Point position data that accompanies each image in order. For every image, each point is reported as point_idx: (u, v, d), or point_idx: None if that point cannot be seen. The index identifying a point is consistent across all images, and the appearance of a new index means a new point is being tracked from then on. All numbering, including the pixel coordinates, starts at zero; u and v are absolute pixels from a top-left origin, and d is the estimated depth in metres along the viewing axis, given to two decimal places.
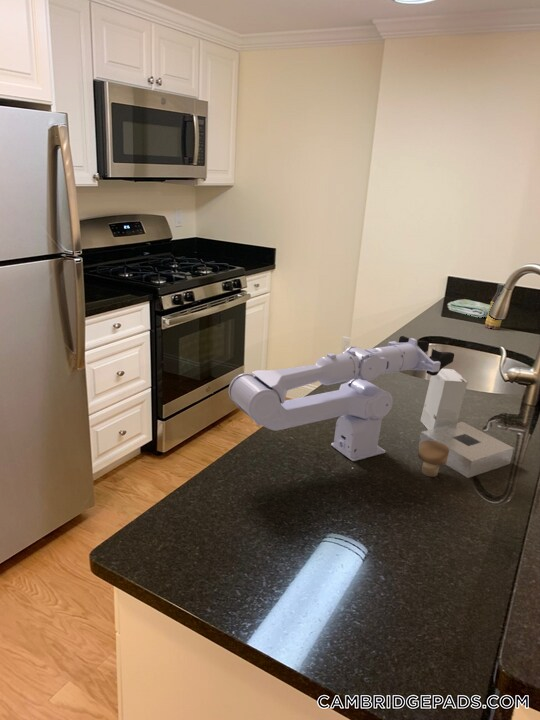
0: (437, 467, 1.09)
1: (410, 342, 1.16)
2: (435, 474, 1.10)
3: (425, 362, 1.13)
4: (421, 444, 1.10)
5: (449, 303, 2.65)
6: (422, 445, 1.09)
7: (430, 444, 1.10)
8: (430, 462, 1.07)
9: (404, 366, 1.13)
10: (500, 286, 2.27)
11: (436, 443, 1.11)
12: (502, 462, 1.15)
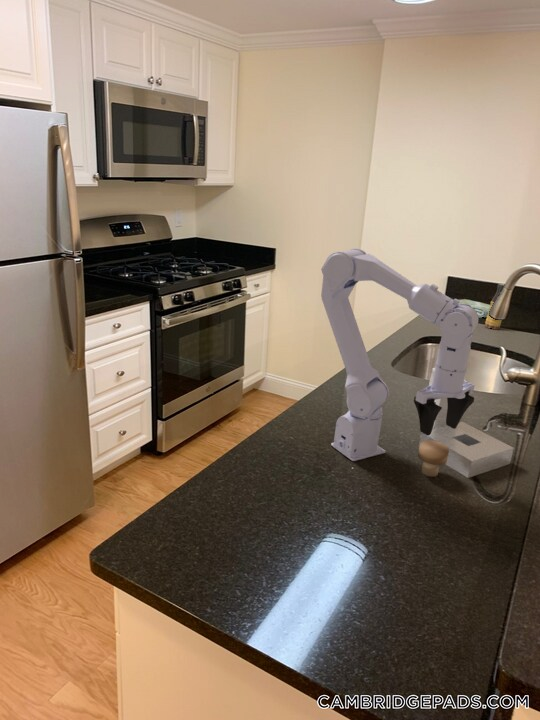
0: (437, 467, 1.09)
1: (460, 393, 1.02)
2: (435, 474, 1.10)
3: (430, 392, 1.02)
4: (421, 444, 1.10)
5: None
6: (422, 445, 1.09)
7: (430, 444, 1.10)
8: (430, 462, 1.07)
9: (437, 370, 1.03)
10: (500, 286, 2.27)
11: (436, 443, 1.11)
12: (502, 462, 1.15)
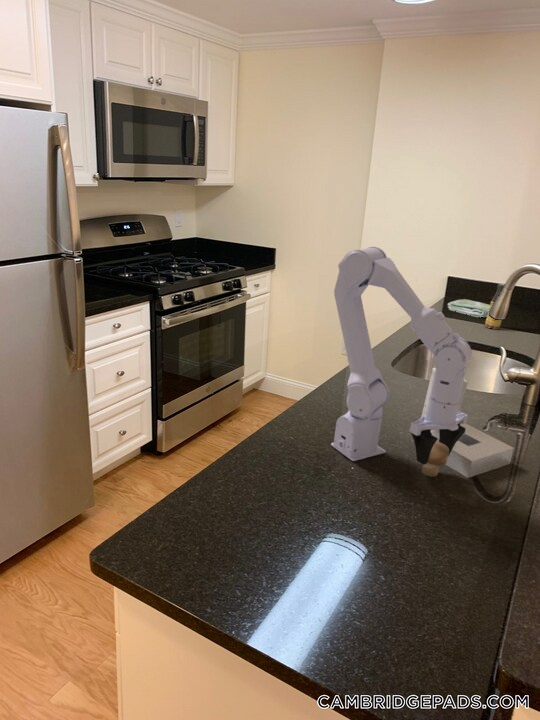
0: (437, 467, 1.09)
1: (453, 424, 1.05)
2: (435, 474, 1.10)
3: (424, 423, 1.04)
4: None
5: (449, 303, 2.65)
6: None
7: None
8: (430, 462, 1.07)
9: (430, 402, 1.05)
10: (500, 286, 2.27)
11: (436, 443, 1.11)
12: (502, 462, 1.15)
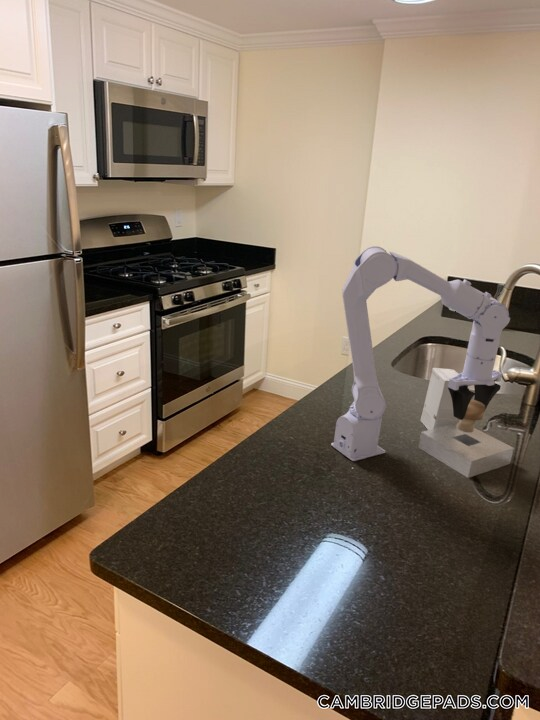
0: (473, 423, 1.14)
1: (490, 380, 1.09)
2: (471, 430, 1.14)
3: (462, 379, 1.09)
4: None
5: None
6: None
7: None
8: (467, 417, 1.12)
9: (468, 359, 1.10)
10: (500, 286, 2.27)
11: (472, 401, 1.15)
12: (502, 462, 1.15)
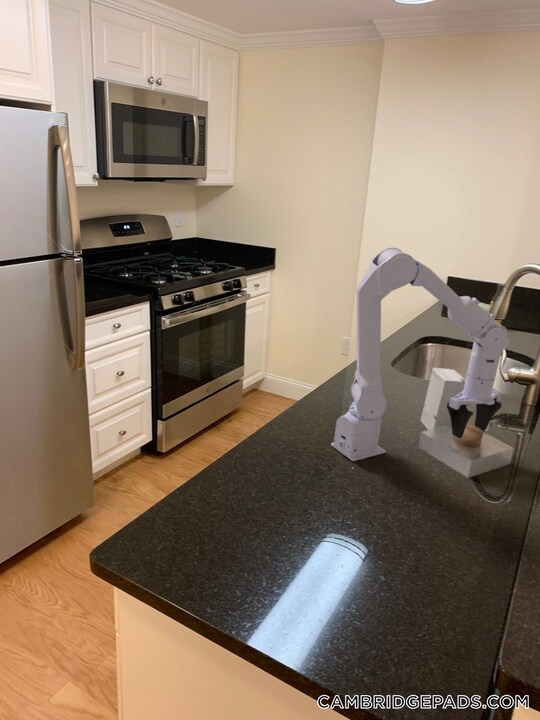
0: None
1: (490, 399, 1.12)
2: None
3: (463, 398, 1.12)
4: None
5: None
6: None
7: (465, 427, 1.18)
8: (466, 443, 1.15)
9: (468, 378, 1.12)
10: (500, 286, 2.27)
11: (470, 426, 1.19)
12: (502, 462, 1.15)
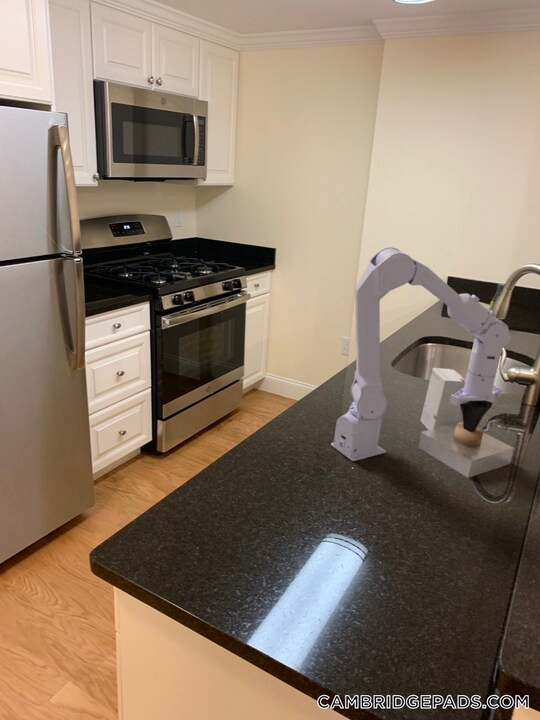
0: None
1: (490, 396, 1.12)
2: None
3: (463, 395, 1.11)
4: (457, 427, 1.18)
5: None
6: (458, 428, 1.17)
7: None
8: (466, 443, 1.15)
9: (469, 375, 1.12)
10: (500, 286, 2.27)
11: None
12: (502, 462, 1.15)
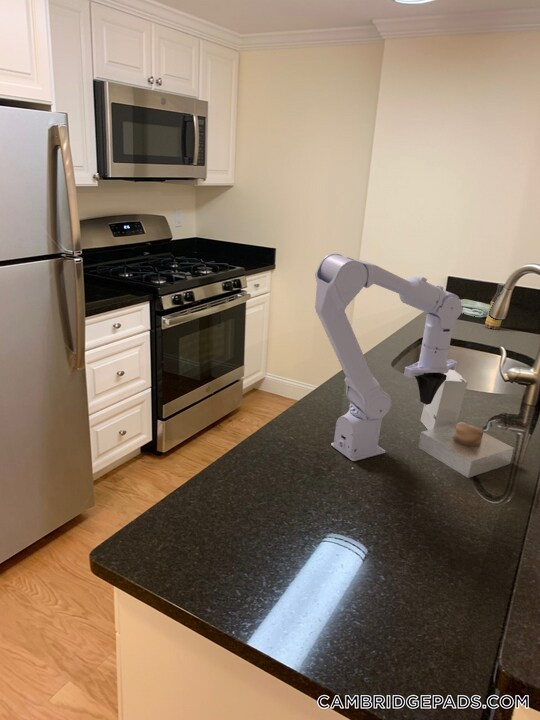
0: None
1: (444, 368, 1.15)
2: None
3: (417, 368, 1.14)
4: (457, 427, 1.18)
5: None
6: (458, 428, 1.17)
7: (465, 427, 1.18)
8: (466, 443, 1.15)
9: (423, 348, 1.15)
10: (500, 286, 2.27)
11: (470, 426, 1.19)
12: (502, 462, 1.15)
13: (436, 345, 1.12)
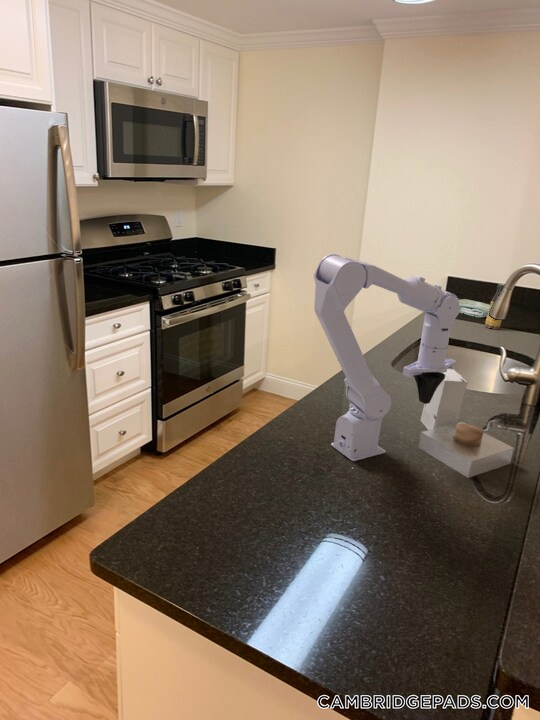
0: None
1: (442, 368, 1.15)
2: None
3: (416, 367, 1.14)
4: (457, 427, 1.18)
5: None
6: (458, 428, 1.17)
7: (465, 427, 1.18)
8: (466, 443, 1.15)
9: (421, 348, 1.15)
10: (500, 286, 2.27)
11: (470, 426, 1.19)
12: (502, 462, 1.15)
13: (435, 344, 1.13)
